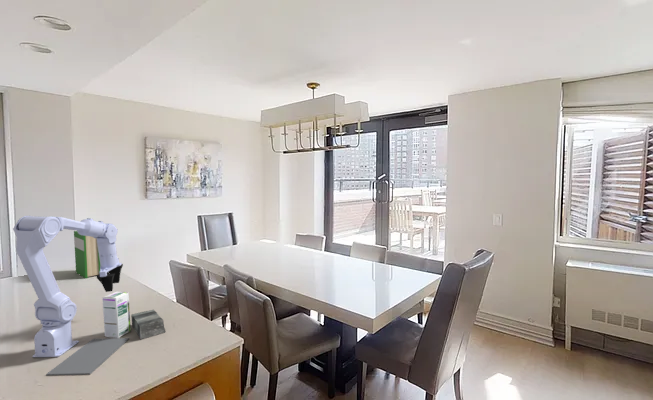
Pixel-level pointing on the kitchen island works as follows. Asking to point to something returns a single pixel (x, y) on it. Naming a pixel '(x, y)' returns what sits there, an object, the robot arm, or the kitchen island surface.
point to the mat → (88, 357)
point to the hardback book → (86, 255)
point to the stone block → (147, 324)
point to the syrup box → (116, 314)
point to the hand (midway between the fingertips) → (112, 286)
